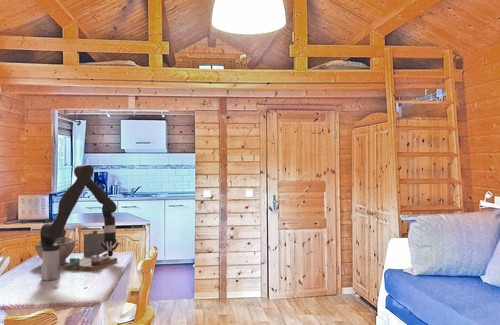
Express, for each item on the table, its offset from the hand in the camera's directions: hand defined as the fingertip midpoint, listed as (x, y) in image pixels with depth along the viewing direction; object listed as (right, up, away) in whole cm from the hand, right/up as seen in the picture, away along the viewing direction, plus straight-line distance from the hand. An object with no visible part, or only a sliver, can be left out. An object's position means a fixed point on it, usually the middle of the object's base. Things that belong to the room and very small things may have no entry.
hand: (110, 256), depth 275 cm
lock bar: (-4, -2, -7) cm, 8 cm away
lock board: (-11, -5, -6) cm, 13 cm away
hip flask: (-18, -5, +19) cm, 27 cm away
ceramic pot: (-38, -6, +1) cm, 39 cm away
